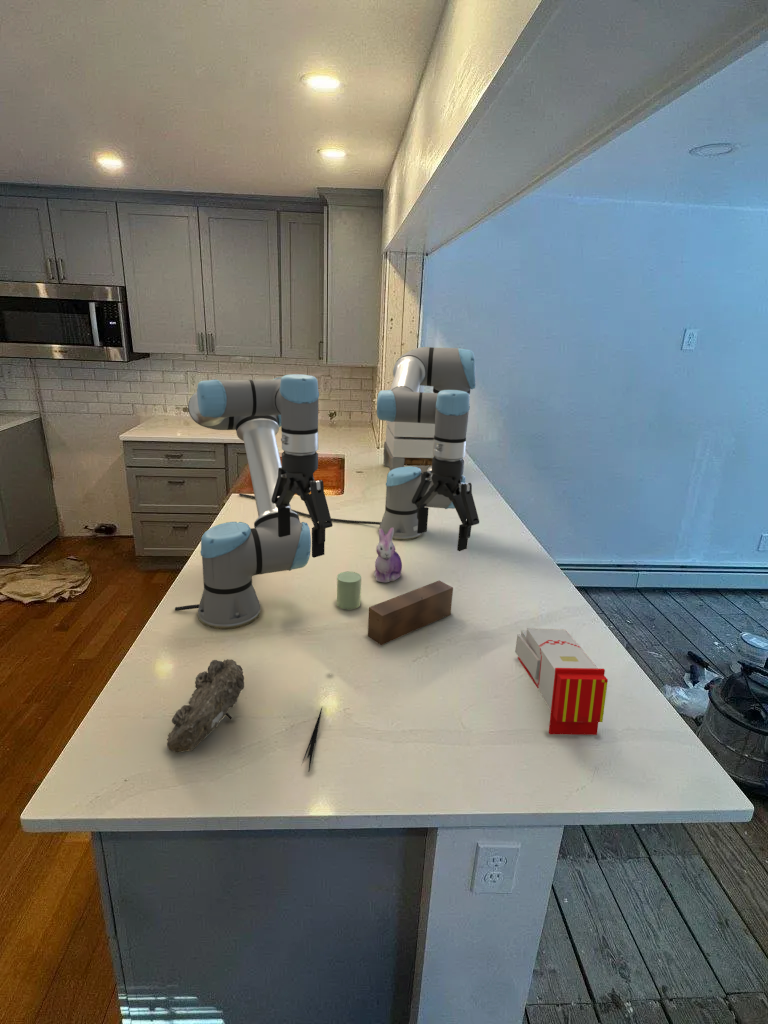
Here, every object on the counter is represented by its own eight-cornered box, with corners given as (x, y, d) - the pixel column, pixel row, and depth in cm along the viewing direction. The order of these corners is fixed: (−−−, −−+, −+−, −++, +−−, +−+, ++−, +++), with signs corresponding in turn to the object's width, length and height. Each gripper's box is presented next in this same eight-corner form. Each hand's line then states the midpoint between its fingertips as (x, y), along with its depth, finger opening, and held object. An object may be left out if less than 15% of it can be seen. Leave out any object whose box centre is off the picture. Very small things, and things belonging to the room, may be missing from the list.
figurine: (381, 586, 161) (383, 537, 156) (365, 571, 170) (367, 525, 165) (409, 580, 165) (412, 533, 160) (393, 566, 174) (395, 521, 169)
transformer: (382, 463, 289) (386, 382, 275) (445, 464, 293) (451, 384, 279) (390, 482, 257) (394, 392, 243) (460, 483, 261) (468, 394, 247)
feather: (331, 679, 122) (336, 673, 122) (307, 777, 96) (313, 769, 95) (324, 675, 122) (329, 669, 121) (298, 772, 95) (304, 764, 95)
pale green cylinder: (331, 602, 152) (332, 575, 149) (350, 595, 156) (351, 569, 153) (346, 612, 147) (346, 584, 145) (365, 604, 151) (366, 577, 149)
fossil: (192, 660, 117) (244, 628, 112) (224, 691, 120) (276, 661, 115) (142, 746, 98) (202, 712, 93) (182, 779, 101) (242, 748, 96)
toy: (561, 612, 132) (617, 675, 103) (556, 665, 135) (608, 741, 106) (510, 611, 132) (551, 674, 102) (505, 664, 134) (544, 741, 105)
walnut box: (380, 645, 133) (382, 615, 131) (367, 636, 137) (368, 607, 134) (450, 614, 148) (453, 587, 146) (437, 607, 152) (439, 580, 149)
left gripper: (254, 441, 124) (257, 531, 132) (319, 467, 107) (318, 569, 114) (284, 437, 129) (285, 524, 136) (350, 462, 111) (348, 560, 119)
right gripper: (400, 448, 140) (396, 528, 147) (479, 472, 123) (469, 561, 130) (422, 445, 145) (417, 522, 152) (500, 467, 127) (490, 553, 134)
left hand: (300, 545), depth 125 cm, fingers open, 13 cm apart
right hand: (441, 540), depth 141 cm, fingers open, 13 cm apart
